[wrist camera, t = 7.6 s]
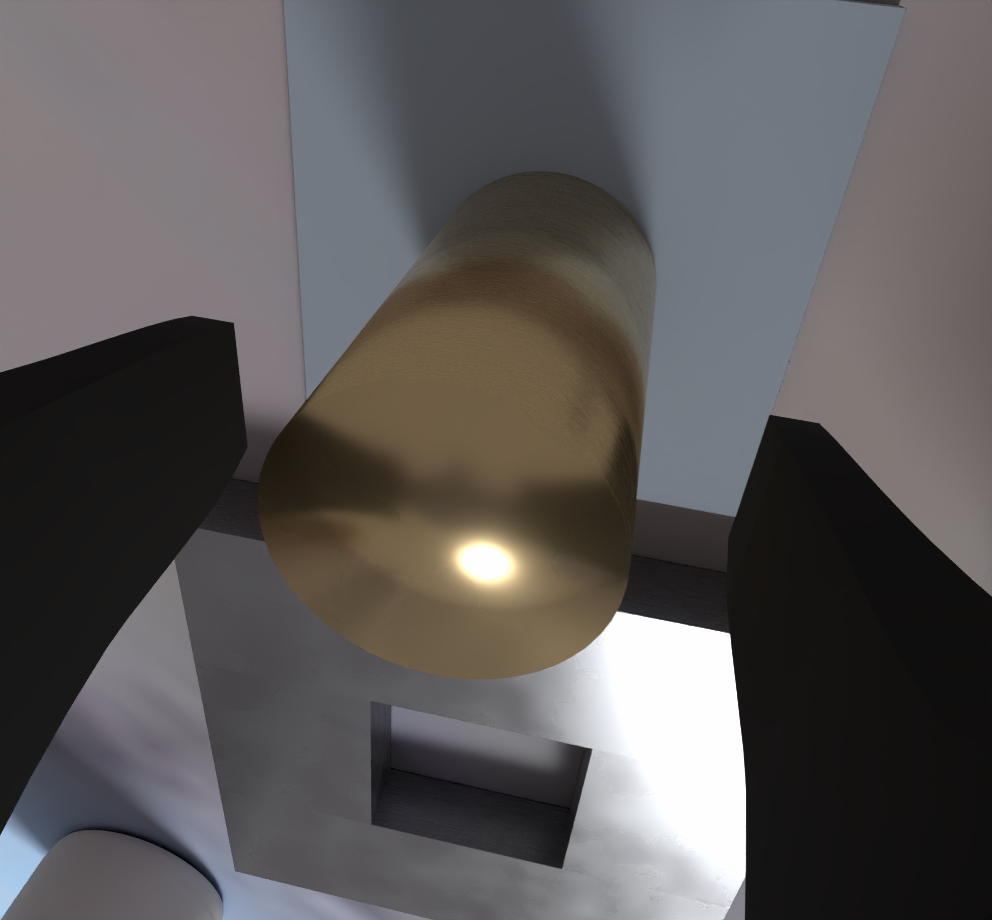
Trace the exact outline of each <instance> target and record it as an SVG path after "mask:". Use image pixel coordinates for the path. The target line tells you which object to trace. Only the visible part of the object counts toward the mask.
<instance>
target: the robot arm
mask: <svg viewBox="0 0 992 920" xmlns="http://www.w3.org/2000/svg"><path fill="white" fill-rule="evenodd" d="M246 449H247V438H246V429H245V420H244V411H243V402H242V393H241V384H240V375H239V366H238V357H237V348H236V339H235V330H234V323H231V322H225V321H219V320H214V319H208V318H202V317H196V316H188V317H183V318H177V319H173V320H169V321H165V322H161V323H158V324H154V325H151V326H147V327H144V328H141V329H138V330H134V331H131V332H128V333H125V334H122V335H119V336H116V337H112V338H109V339H106V340H103V341H100V342H97V343H94V344H91V345H88V346H85V347H82V348H79V349H76V350H73V351H70V352H66V353H63V354H60V355H57V356H54V357H51V358H48V359H45V360H41V361H38V362H35V363H31V364H28V365H24V366H21V367H18V368H14V369H11V370H7V371H4V372H1V373H0V835H1V833H2V831H3V829H4V827H5V825H6V823H7V821H8V819H9V818H10V816H11V814H12V812H13V810H14V808H15V806H16V804H17V802H18V800H19V798H20V797H21V795H22V793H23V791H24V789H25V787H26V785H27V783H28V781H29V779H30V777H31V776H32V774H33V772H34V770H35V769H36V767H37V765H38V763H39V761H40V760H41V758H42V756H43V754H44V753H45V751H46V749H47V747H48V746H49V744H50V742H51V740H52V739H53V737H54V735H55V733H56V732H57V730H58V728H59V726H60V725H61V723H62V721H63V719H64V718H65V716H66V714H67V712H68V711H69V709H70V707H71V706H72V704H73V702H74V701H75V699H76V697H77V696H78V694H79V692H80V691H81V689H82V688H83V686H84V684H85V683H86V681H87V679H88V678H89V676H90V674H91V673H92V671H93V670H94V668H95V666H96V665H97V663H98V661H99V660H100V658H101V657H102V655H103V653H104V652H105V650H106V648H107V647H108V646H109V644H110V643H111V641H112V640H113V638H114V637H115V636H116V634H117V633H118V631H119V630H120V629H121V627H122V626H123V624H124V623H125V622H126V620H127V619H128V618H129V616H130V615H131V614H132V612H133V611H134V610H135V609H136V607H137V606H138V605H139V603H140V602H141V601H142V600H143V598H144V597H145V596H146V594H147V593H148V592H149V591H150V589H151V588H152V587H153V585H154V584H155V583H156V582H157V580H158V579H159V578H160V576H161V575H162V574H163V573H164V571H165V570H166V569H167V568H168V566H169V565H170V564H171V562H172V561H173V560H174V559H175V557H176V556H177V555H178V553H179V552H180V551H181V550H182V548H183V547H184V546H185V544H186V543H187V542H188V541H189V539H190V538H191V537H192V535H193V534H194V533H195V531H196V530H197V529H198V527H199V526H200V525H201V523H202V522H203V521H204V520H205V518H206V517H207V516H208V514H209V513H210V512H211V510H212V509H213V507H214V506H215V505H216V503H217V502H218V500H219V498H220V497H221V495H222V493H223V492H224V490H225V488H226V486H227V485H228V483H229V481H230V479H231V478H232V476H233V474H234V472H235V470H236V468H237V466H238V464H239V462H240V460H241V459H242V457H243V455H244V453H245V451H246ZM727 613H728V623H729V632H730V642H731V651H732V660H733V669H734V677H735V686H736V695H737V704H738V712H739V721H740V730H741V739H742V747H743V758H744V773H745V788H746V886H745V920H992V596H990V595H989V594H988V593H987V592H986V591H985V590H984V589H982V588H981V587H980V586H979V585H978V584H977V583H975V582H974V581H973V580H972V579H971V578H970V577H969V576H968V575H967V574H965V573H964V572H963V571H962V570H961V569H960V568H959V567H958V566H957V565H956V564H955V563H954V562H953V561H952V560H950V559H949V558H948V557H947V556H946V555H945V554H944V553H943V552H942V551H941V550H940V549H939V548H938V547H936V546H935V545H934V544H933V543H932V542H931V541H930V540H929V539H928V538H927V537H926V536H925V535H924V534H923V533H922V532H921V531H920V530H919V529H918V528H917V527H916V526H915V525H914V524H913V523H912V522H911V521H910V520H909V519H908V518H907V517H906V516H905V515H904V514H903V513H902V512H901V510H900V509H899V508H898V507H897V506H896V505H895V504H894V503H893V502H892V501H891V500H890V499H889V498H888V497H887V496H886V495H885V493H884V492H883V491H882V490H881V489H880V488H879V487H878V486H877V485H876V484H875V483H874V482H873V480H872V479H871V478H870V477H869V476H868V475H867V474H866V473H865V472H864V471H863V469H862V468H861V467H860V466H859V465H858V464H857V463H856V462H855V461H854V459H853V458H852V457H851V456H850V455H849V454H848V453H847V452H846V451H845V450H844V448H843V447H842V446H841V445H840V444H839V443H838V442H837V441H836V440H835V439H834V438H833V437H832V436H831V435H830V434H829V432H828V431H827V430H825V429H824V428H823V427H822V426H821V425H820V424H819V423H814V422H808V421H803V420H797V419H791V418H785V417H779V416H773V415H769V418H768V421H767V424H766V427H765V430H764V433H763V436H762V439H761V442H760V445H759V448H758V451H757V454H756V457H755V460H754V463H753V466H752V469H751V472H750V475H749V478H748V481H747V484H746V487H745V490H744V493H743V496H742V499H741V502H740V505H739V508H738V511H737V514H736V517H735V520H734V523H733V526H732V529H731V532H730V535H729V540H728V564H727Z"/></svg>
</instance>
